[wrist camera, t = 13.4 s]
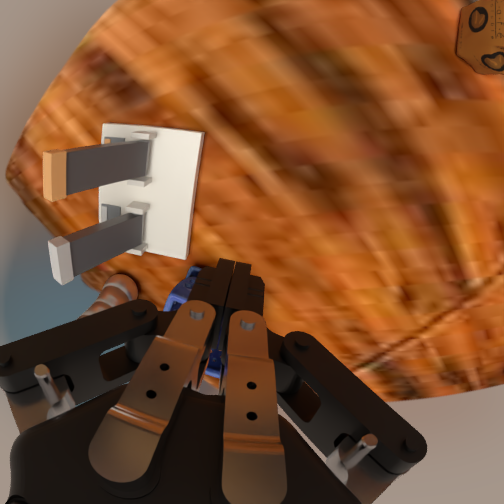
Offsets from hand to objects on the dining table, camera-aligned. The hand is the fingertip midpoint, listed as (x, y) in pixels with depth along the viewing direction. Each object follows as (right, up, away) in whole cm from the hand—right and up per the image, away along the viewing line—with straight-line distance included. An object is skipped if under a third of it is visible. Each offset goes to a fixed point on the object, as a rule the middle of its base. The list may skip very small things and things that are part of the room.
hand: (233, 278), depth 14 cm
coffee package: (+38, +36, +14) cm, 54 cm away
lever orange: (-15, +15, +25) cm, 33 cm away
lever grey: (-17, +5, +30) cm, 35 cm away
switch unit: (-16, +11, +30) cm, 36 cm away
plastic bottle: (-23, -5, +39) cm, 45 cm away
